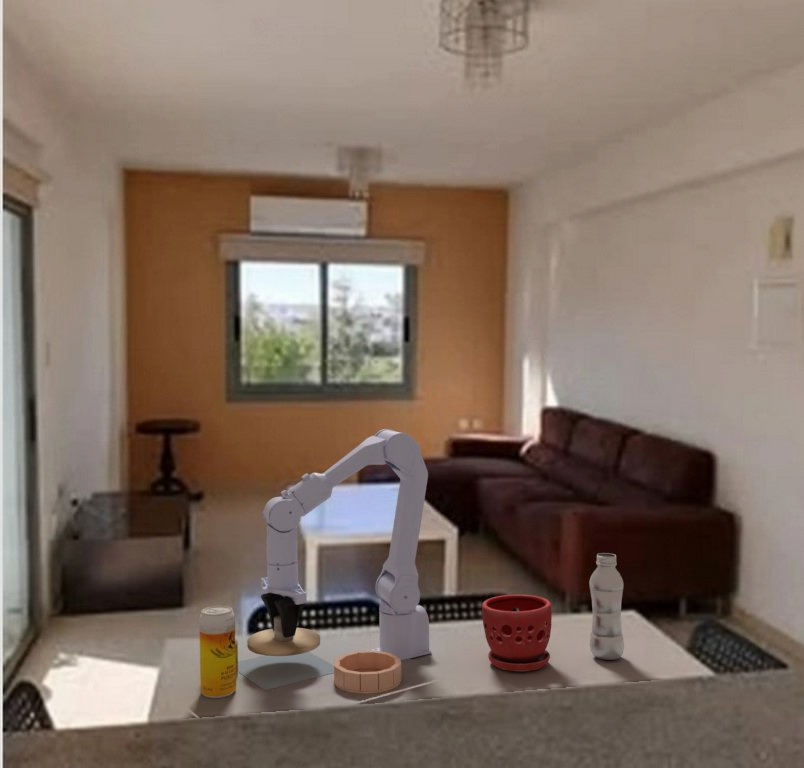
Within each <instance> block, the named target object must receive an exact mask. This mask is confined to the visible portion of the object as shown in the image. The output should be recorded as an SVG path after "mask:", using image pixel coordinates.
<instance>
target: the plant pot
mask: <svg viewBox="0 0 804 768" xmlns="http://www.w3.org/2000/svg"><path fill="white" fill-rule="evenodd" d="M514 609H517V610H518V611H516V610H515V611H513V610H514ZM481 611H482V612H481V613H482V625H483V629H484V636H485V638H486V642H487V644H488V645H487V646H488V647H489V649H490V651H489V652H488V654H487V655H488V657H487V658H488V659H489V662H490V663H491V664H492V665H494V666H495V667H497V668H498V669H501V670H502V671H511V672H529V671H531V672H532V671H535V670H539V669H542V668H543V667H544V666H546V665H547V664H548V662H549V660H550V659H551V654H550V652H549V651H548V650H546V649H547V647H548V644H549V641H550V638H551V631H552V616H553V615H552V604H551V602H550V601H549V600H548V599H546V598H544V597H542V596H537V595H533V594H532V595H531V594H505V595H498V596H494V597H490V598H488V599H485V600H484V601H483V602H482V604H481Z"/></svg>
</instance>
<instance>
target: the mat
mask: <svg viewBox="0 0 804 768" xmlns="http://www.w3.org/2000/svg"><path fill="white" fill-rule="evenodd" d="M238 674H240V675H242V676H243V677H244V678H246V679H247V680H249V681H250V682H252V683H253V684H255V685H257V686H258V687H259V688H260V689H262V690H264V691H268V690H272V689H277V688H280V687H284V686H288V685H292V684H296V683H301V682H304V681H307V680H311V679H315V678H319V677H320V678H321V677H324V676H327V675H332V674H334V664H332V663H330V662H328V661H326V660H325V659H323V658H321V657H319V656H317V655H316V654H313V653H312V652H311V651H309V652H306V653H302V654H297V655H291V656H266V655H262V656H261V655H260V656H258V657H257V656H256V657H253V658H247V659H244V660H240V661H238Z"/></svg>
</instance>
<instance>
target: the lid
mask: <svg viewBox="0 0 804 768" xmlns="http://www.w3.org/2000/svg"><path fill="white" fill-rule="evenodd" d="M320 645H321V635H320V634H319V633H318V632H317V631H314V630H312V629H309V628H303V627H297V628H296V633H295V636H291V637H287V638H285V637H284V636H283V633H282V626H281V619H280V615H278V616H275V617H274V631H273V629H272V628H269V629H263V630H261V631H260V630H259V631H258V632H256V633H253V634H251V635H250V636H249V637H248V638H247V643H246V647H247V649H248V650H249V651H250V652H252V653H254V654H258V655H260V656H261V655H262V656H291V655H297V654H302V653H306V652H312V651H314V650H316V649H318V647H319V646H320Z"/></svg>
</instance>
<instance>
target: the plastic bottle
mask: <svg viewBox="0 0 804 768" xmlns="http://www.w3.org/2000/svg"><path fill="white" fill-rule="evenodd" d="M595 563H596V565H597V567H596V568H595V570H594V571H593V572H592V574H591V575H590V578H589V583H588V584H589V590H590V597H591V605H592V606H591V607H592V608H591V609H592V611H591V612H592V619H591V620H592V621H591V632H590V637H589V648H590V652H591V654H592V655H593V657H595V658H597V659H601V660H606V661H607V660H609V661H613V660H614V661H615V660H618V659H620V658H621V657H622V656H623V655H624V652H625V651H624V650H625V641H624V636H623V630H622V619H621V616H622V614H621V613H622V612H621V611H622V599H623V592H624V580H623V578H622V577H623V576H621V573H620V572H619V571H618V569H617V568H616V566H618V565H617V555H616V554H614V553H609V552H607V553H606V552H601V553H600V552H599V553H597V554H596V561H595Z"/></svg>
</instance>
